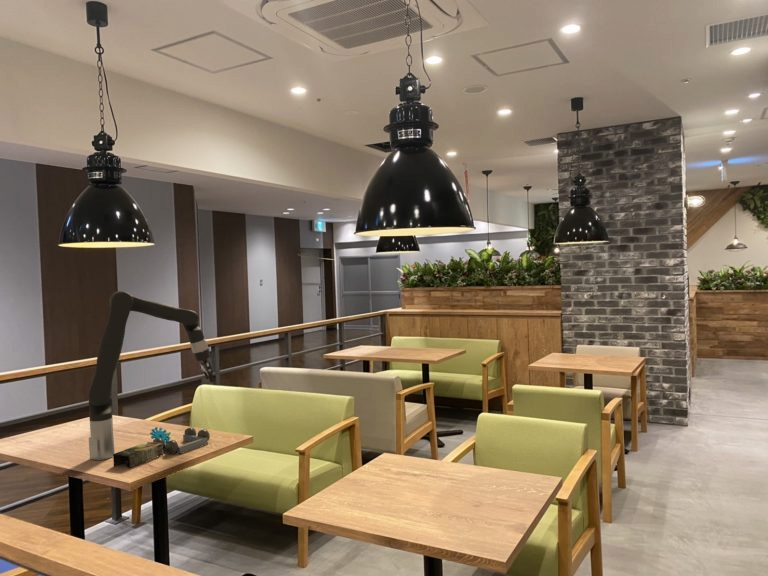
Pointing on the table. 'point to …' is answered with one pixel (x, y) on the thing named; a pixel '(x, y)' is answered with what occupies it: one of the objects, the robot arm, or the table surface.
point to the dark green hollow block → (138, 454)
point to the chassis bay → (189, 437)
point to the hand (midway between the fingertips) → (210, 380)
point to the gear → (160, 434)
